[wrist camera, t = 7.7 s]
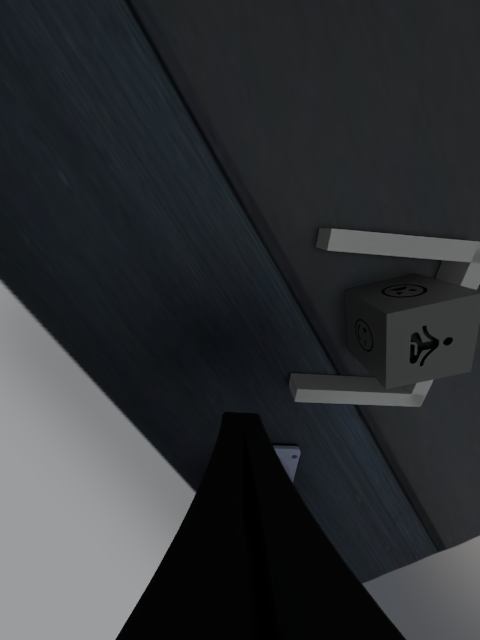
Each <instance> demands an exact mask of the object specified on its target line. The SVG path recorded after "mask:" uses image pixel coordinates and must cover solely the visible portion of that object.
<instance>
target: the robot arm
mask: <svg viewBox="0 0 480 640" xmlns="http://www.w3.org/2000/svg"><path fill="white" fill-rule="evenodd" d="M299 456H300V449H299V447H297V446H278V445H272V443H271V441H270V439H269V437H268V434H267V432H266V430H265V428H264V425H263V423H262V420H261V418H260V416H259V415H258V414H253V413H234V412H225V413H224V414H222V423H221V428H220V432H219V435H218V439H217V442H216V445H215V448H214V451H213V453H212V456H211V459H210V462H209V464H208V467H207V469H206V472H205V474H204V476H203V479H202V481H201V483H200V486H199V488H198V490H197V493H196V495H195V497H194V499H193V501H192V503H191V506H190V508H189V510H188V512H187V514H186V516H185V518H184V520H183V522H182V524H181V526H180V528H179V530H178V532H177V534H176V535H175V537H174V539H173V541H172V543H171V545H170V547H169V548H168V550H167V552H166V554H165V556H164V558H163V560H162V562H161V563H160V565H159V567H158V569H157V571H156V572H155V574H154V576H153V578H152V579H151V581H150V583H149V585H148V586H147V588H146V590H145V592H144V593H143V595H142V596H141V598H140V600H139V601H138V603H137V605H136V607H135V608H134V610H133V611H132V613H131V615H130V617H129V618H128V620H127V621H126V623H125V625H124V626H123V628H122V630H121V631H120V633H119V635H118V636H117V638H116V640H406V639H405V638H404V637H403V635H402V634H401V633H400V632H399V630H398V629H397V628H396V627H395V625H394V624H393V623H392V622H391V621H390V619H389V618H388V617H387V616H386V614H385V613H384V612H383V611H382V609H381V608H380V607H379V605H378V604H377V603H376V601H375V600H374V599H373V598H372V596H371V595H370V594H369V592H368V591H367V590H366V589H365V587H364V586H363V585H362V583H361V582H360V581H359V579H358V578H357V577H356V576H355V574H354V573H353V572H352V570H351V569H350V568H349V567H348V565H347V564H346V562H345V561H344V560H343V558H342V557H341V556H340V554H339V553H338V551H337V550H336V549H335V547H334V546H333V544H332V543H331V542H330V540H329V539H328V537H327V536H326V534H325V533H324V531H323V530H322V528H321V527H320V525H319V524H318V523H317V521H316V520H315V518H314V517H313V515H312V513H311V512H310V510H309V509H308V507H307V506H306V504H305V502H304V501H303V499H302V497H301V496H300V494H299V493H298V491H297V489H296V488H295V486H294V484H293V480H294V476H295V472H296V468H297V464H298V460H299Z"/></svg>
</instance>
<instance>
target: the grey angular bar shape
mask: <svg viewBox="0 0 480 640" xmlns="http://www.w3.org/2000/svg"><path fill="white" fill-rule="evenodd" d="M316 247H317V248H320V249H324V250H328V251H340V252H352V253H363V254H375V255H387V256H399V257H411V258H423V259H435V260H442V262H441V265H440V267H439V270H438V272H437V275H436V277H435V279H438V280H442V281H445V282H449V283H453V284H456V285H460V286H464V287H468V288H471V289H475V290H477V288H478V286H479V284H480V242H476V241H465V240H454V239H443V238H432V237H421V236H410V235H398V234H387V233H376V232H365V231H354V230H343V229H332V228H319V233H318V238H317V243H316ZM432 382H433V380H429V381H424V382H419V383H414V384H409V385H404V386H399V387H395V388H390V389H385V388H384V387H383V386H382V385H381V384H380V382H379V381H378V380H377V379H376V378H375V377H359V376H338V375H318V374H297V373H291V376H290V381H289V388H290V390H291V393H292V396H293V399H294V402H313V403H337V404H362V405H387V406H411V407H421V405H422V403H423V401H424V399H425V397H426V395H427V392H428V390H429V388H430V386H431V384H432Z"/></svg>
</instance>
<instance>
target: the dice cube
mask: <svg viewBox="0 0 480 640" xmlns="http://www.w3.org/2000/svg"><path fill="white" fill-rule="evenodd" d="M345 305H346V322H347V338H348V349H349V350H350V351H351V353H352V354H353V355H354V356H355V357H356V358H357V359H358V360H359V361H360V362H361V363H362V364H363V365H364V366H365V368H366V369H367V370H368V371H369V372H370V373H371V374H372V375H373V376H374V377H375V378H376V379H377V380H378V381H379V382H380V384H381V385H382V386H383V387H384V388H385V389H390V388H395V387H399V386H404V385H409V384H414V383H419V382H424V381H429V380H434V379H438V378H443V377H448V376H453V375H458V374H463V373H468V372H471V368H472V363H473V357H474V352H475V346H476V341H477V335H478V330H479V324H480V291H479V290H475V289H471V288H468V287H464V286H460V285H456V284H453V283H449V282H445V281H442V280H438V279H434V278H430V277H427V276H423V275H419V274H416V273H415V274H411V275H406V276H402V277H398V278H393V279H389V280H384V281H380V282H376V283H371V284H367V285H363V286H358V287H354V288H350V289H345Z"/></svg>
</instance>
